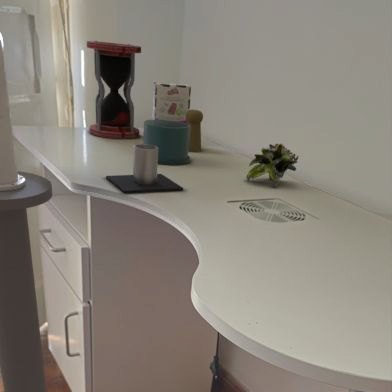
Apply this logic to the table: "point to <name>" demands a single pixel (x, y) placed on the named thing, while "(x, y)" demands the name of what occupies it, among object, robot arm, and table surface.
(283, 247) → the table surface
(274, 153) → the leafy green plant
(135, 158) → the steel cup
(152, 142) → the teal short wide cylinder
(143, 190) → the mat
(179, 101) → the candy bar box
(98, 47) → the hourglass
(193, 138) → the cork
